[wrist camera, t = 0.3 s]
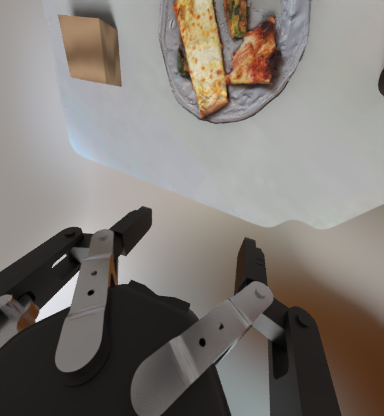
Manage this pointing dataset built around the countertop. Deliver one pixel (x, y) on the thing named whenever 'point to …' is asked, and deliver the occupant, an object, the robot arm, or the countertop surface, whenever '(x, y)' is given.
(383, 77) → the coffee mug
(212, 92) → the food plate
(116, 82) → the tan block
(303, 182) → the countertop surface
